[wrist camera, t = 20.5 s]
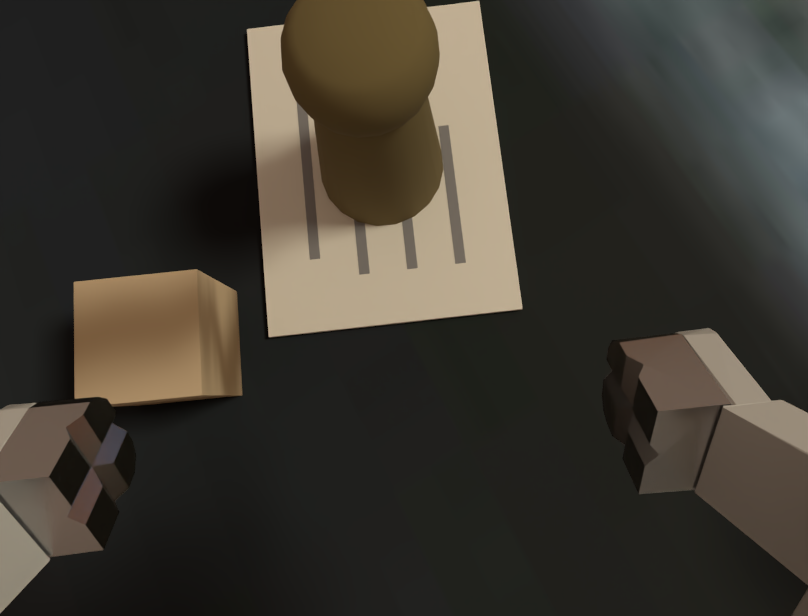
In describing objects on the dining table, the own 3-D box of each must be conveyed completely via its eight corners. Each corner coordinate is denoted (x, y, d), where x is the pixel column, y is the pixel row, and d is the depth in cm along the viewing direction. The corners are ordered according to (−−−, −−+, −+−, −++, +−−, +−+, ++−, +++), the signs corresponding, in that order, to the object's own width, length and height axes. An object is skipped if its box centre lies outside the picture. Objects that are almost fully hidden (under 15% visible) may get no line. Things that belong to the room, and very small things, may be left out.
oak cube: (242, 395, 27) (201, 395, 22) (138, 405, 27) (74, 408, 22) (237, 291, 28) (197, 269, 23) (135, 302, 28) (73, 281, 23)
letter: (521, 309, 27) (522, 308, 27) (270, 337, 27) (268, 336, 27) (478, 4, 29) (479, 0, 29) (248, 32, 30) (246, 29, 29)
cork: (348, 92, 29) (301, -93, 18) (461, 132, 28) (484, -33, 17) (301, 200, 28) (221, 75, 17) (416, 243, 27) (410, 144, 16)
